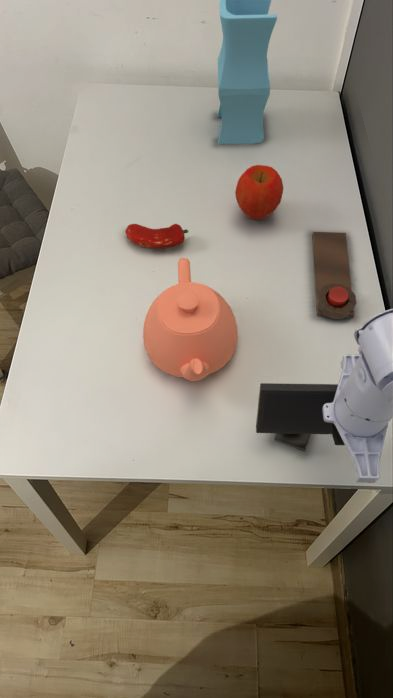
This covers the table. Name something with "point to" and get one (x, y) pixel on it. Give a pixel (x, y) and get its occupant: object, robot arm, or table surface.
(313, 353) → the table surface
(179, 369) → the teapot
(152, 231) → the vegetable
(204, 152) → the table surface
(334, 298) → the power button
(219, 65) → the vase
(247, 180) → the apple
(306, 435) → the monitor stand
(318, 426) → the panel
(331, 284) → the brown board with ring
